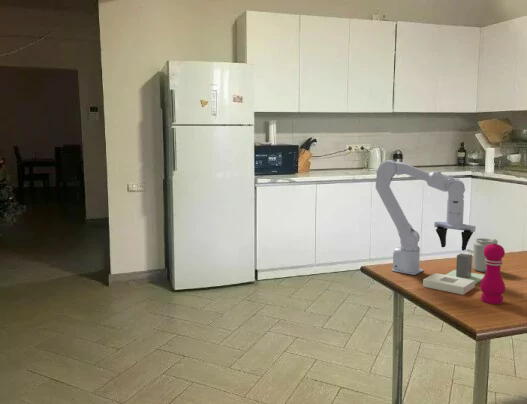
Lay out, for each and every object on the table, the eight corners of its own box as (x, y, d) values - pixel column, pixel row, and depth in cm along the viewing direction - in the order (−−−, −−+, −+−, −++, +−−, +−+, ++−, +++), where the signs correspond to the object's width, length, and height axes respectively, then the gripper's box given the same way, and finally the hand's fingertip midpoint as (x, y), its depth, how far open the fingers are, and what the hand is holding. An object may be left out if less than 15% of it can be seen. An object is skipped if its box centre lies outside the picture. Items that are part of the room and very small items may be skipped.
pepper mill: (503, 306, 151) (506, 242, 149) (477, 302, 155) (480, 240, 152) (505, 299, 157) (508, 238, 155) (481, 295, 161) (483, 235, 158)
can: (495, 268, 191) (496, 238, 189) (492, 273, 185) (493, 242, 183) (474, 266, 195) (475, 236, 193) (471, 271, 189) (472, 240, 187)
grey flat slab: (422, 286, 172) (423, 279, 172) (435, 279, 179) (435, 273, 179) (463, 294, 162) (463, 287, 162) (474, 287, 170) (474, 280, 169)
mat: (441, 278, 181) (441, 276, 181) (454, 270, 189) (454, 269, 189) (474, 284, 172) (474, 283, 172) (486, 276, 181) (486, 275, 181)
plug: (456, 276, 180) (456, 255, 179) (460, 274, 183) (460, 253, 182) (467, 278, 178) (468, 257, 177) (471, 276, 181) (472, 254, 180)
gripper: (431, 211, 183) (430, 247, 185) (470, 216, 173) (469, 253, 175) (439, 209, 188) (438, 244, 190) (478, 213, 178) (476, 249, 180)
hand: (453, 248), depth 183 cm, fingers open, 7 cm apart
